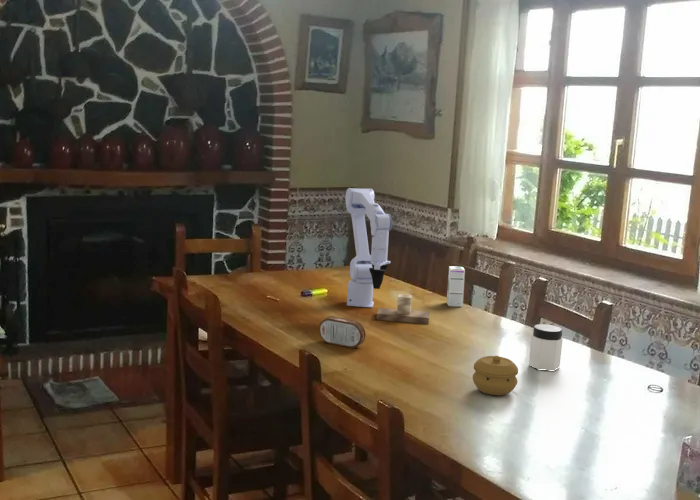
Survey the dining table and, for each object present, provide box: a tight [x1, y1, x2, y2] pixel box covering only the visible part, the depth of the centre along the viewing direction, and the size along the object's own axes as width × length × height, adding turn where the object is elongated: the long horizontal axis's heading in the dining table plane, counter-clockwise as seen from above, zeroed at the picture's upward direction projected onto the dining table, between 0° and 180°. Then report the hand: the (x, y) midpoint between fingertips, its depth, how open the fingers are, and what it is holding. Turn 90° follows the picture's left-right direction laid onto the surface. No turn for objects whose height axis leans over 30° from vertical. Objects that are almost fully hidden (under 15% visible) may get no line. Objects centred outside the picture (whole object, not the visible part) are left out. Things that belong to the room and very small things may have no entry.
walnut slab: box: [376, 307, 430, 325], centre depth 284 cm, size 18×9×2 cm, turn 83°
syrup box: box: [446, 265, 466, 308], centre depth 307 cm, size 6×6×14 cm
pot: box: [472, 355, 519, 396], centre depth 214 cm, size 12×12×10 cm
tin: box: [318, 315, 367, 349], centre depth 248 cm, size 15×3×8 cm, turn 65°
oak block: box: [396, 293, 413, 315], centre depth 283 cm, size 4×4×6 cm
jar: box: [528, 323, 564, 370], centre depth 237 cm, size 9×8×12 cm
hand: (377, 286), depth 285 cm, fingers open, 7 cm apart
